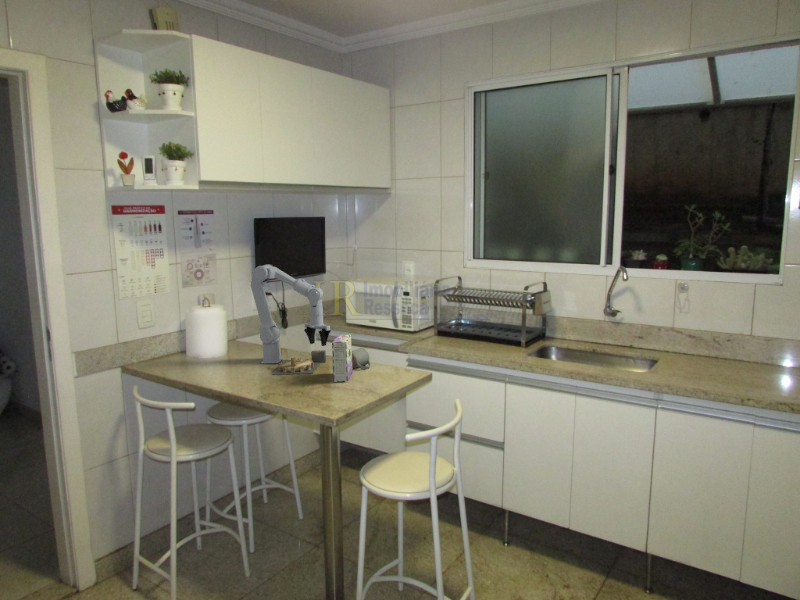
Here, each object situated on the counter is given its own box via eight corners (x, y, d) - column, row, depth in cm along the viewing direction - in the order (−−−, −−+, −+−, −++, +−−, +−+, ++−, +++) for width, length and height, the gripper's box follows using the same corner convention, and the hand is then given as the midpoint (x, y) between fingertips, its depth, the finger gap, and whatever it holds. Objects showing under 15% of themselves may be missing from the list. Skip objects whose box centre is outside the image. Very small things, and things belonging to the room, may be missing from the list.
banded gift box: (312, 361, 249) (312, 350, 248) (326, 361, 249) (325, 350, 248) (311, 363, 246) (311, 352, 245) (325, 362, 246) (324, 351, 245)
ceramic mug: (344, 367, 237) (343, 350, 236) (358, 363, 243) (357, 346, 242) (361, 371, 230) (361, 354, 229) (375, 367, 236) (374, 350, 235)
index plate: (281, 364, 245) (281, 363, 245) (319, 363, 245) (319, 362, 245) (272, 374, 229) (272, 373, 229) (312, 373, 228) (312, 372, 228)
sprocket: (271, 370, 234) (270, 357, 233) (294, 361, 247) (294, 349, 246) (298, 374, 227) (297, 361, 226) (321, 365, 239) (320, 353, 239)
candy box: (339, 372, 229) (337, 334, 226) (353, 372, 228) (351, 334, 226) (333, 382, 215) (331, 341, 213) (348, 382, 215) (346, 341, 212)
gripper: (298, 314, 246) (300, 344, 248) (321, 317, 237) (322, 348, 239) (310, 312, 251) (312, 341, 253) (332, 315, 242) (334, 345, 244)
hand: (318, 344), depth 247 cm, fingers open, 7 cm apart
